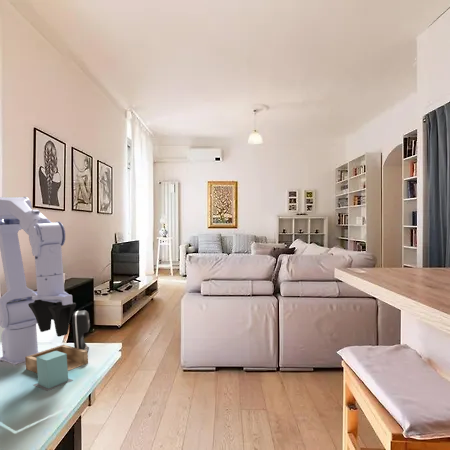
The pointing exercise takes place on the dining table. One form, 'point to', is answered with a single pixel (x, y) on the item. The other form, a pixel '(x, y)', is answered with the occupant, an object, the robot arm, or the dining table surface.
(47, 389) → the coaster
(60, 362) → the block
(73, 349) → the crate
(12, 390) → the dining table surface
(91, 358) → the dining table surface
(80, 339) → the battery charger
